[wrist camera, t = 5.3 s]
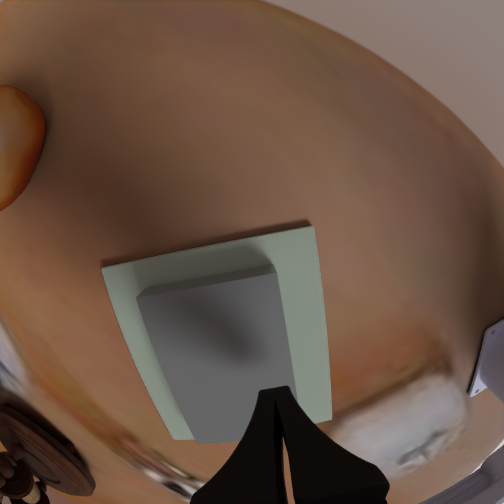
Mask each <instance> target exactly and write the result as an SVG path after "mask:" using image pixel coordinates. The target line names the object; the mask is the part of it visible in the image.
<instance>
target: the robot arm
mask: <svg viewBox="0 0 504 504" xmlns="http://www.w3.org/2000/svg"><path fill="white" fill-rule="evenodd" d="M487 387H488V388H489V389H490V390H491V391H492V392H493V393H494V394H495V395H496V396H497V397H498V398H499V399H500V400H501V401H502V402H503V403H504V319H503V320H501V321H499V322H498V323H496V324H494V325H493V326H491V327H489V328H488V329H487V330H486V331H485V334H484V339H483V343H482V348H481V352H480V356H479V360H478V364H477V367H476V371H475V374H474V378H473V381H472V384H471V387H470V391H469V394H468V395H469V396H470V397H473V396H474V395H476V394H478V393H479V392H481V391H482V390H484V389H485V388H487ZM283 438H284V441H285V445H286V449H287V452H288V458H289V465H290V472H291V480H292V488H293V496H294V500H295V504H387V501H386V499H385V498H386V495H387V493H388V491H389V488H390V485H389V482H388V480H387V479H386V477H385V476H384V474H383V473H382V472H381V471H380V469H379V468H378V467H377V466H376V465H374V464H372V463H369V462H367V461H365V460H363V459H361V458H359V457H357V456H355V455H354V454H352V453H350V452H349V451H347V450H346V449H344V448H343V447H341V446H340V445H338V444H337V443H335V442H334V441H333V440H332V439H330V438H329V437H328V436H327V435H326V434H325V433H323V432H322V431H321V430H320V429H319V428H318V427H317V426H316V425H315V424H314V423H313V421H312V420H311V419H310V418H309V417H308V416H307V415H306V413H305V412H304V411H303V409H302V408H301V407H300V405H299V404H298V402H297V401H296V399H295V398H294V396H293V394H292V392H291V390H290V387H289V386H287V385H286V386H280V387H275V388H269V389H263V390H260V391H259V392H258V398H257V402H256V406H255V409H254V412H253V414H252V417H251V420H250V422H249V425H248V427H247V429H246V431H245V433H244V435H243V437H242V439H241V441H240V442H239V444H238V446H237V447H236V449H235V450H234V452H233V453H232V455H231V456H230V458H229V459H228V460H227V462H226V463H225V464H224V465H223V467H222V468H221V469H220V470H219V471H218V472H217V473H216V474H215V475H214V476H213V477H212V478H211V479H210V480H209V481H208V482H207V483H206V484H205V485H204V486H202V487H201V488H200V489H199V490H198V491H197V492H195V493H194V494H193V496H192V498H191V501H190V504H288V499H287V493H286V486H285V479H284V461H283ZM503 502H504V445H503V446H502V447H501V448H499V449H498V450H497V451H495V452H494V453H493V454H491V455H490V456H489V457H488V458H487V459H486V460H485V461H484V462H483V464H482V465H481V468H479V469H478V470H477V471H475V472H474V473H472V474H471V475H469V476H467V477H466V478H464V479H463V480H461V481H460V482H458V483H456V484H455V485H453V486H451V487H450V488H448V489H446V490H444V491H443V492H441V493H439V494H437V495H435V496H433V497H431V498H429V499H427V500H425V501H423V502H421V503H419V504H502V503H503Z"/></svg>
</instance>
